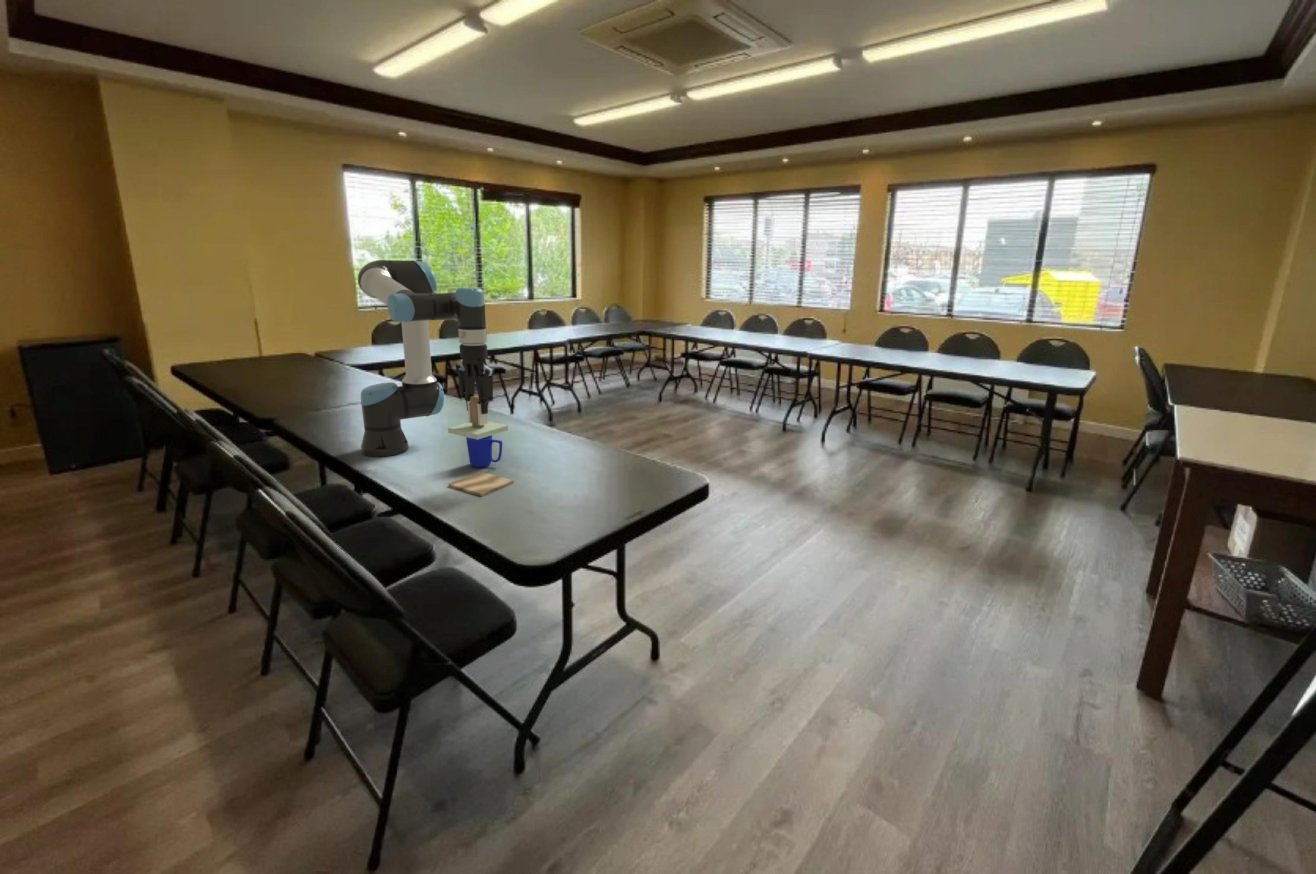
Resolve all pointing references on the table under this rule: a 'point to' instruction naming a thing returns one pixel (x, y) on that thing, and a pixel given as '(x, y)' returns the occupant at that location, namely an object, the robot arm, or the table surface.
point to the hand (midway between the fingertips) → (478, 422)
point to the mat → (481, 483)
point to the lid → (477, 425)
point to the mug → (482, 451)
